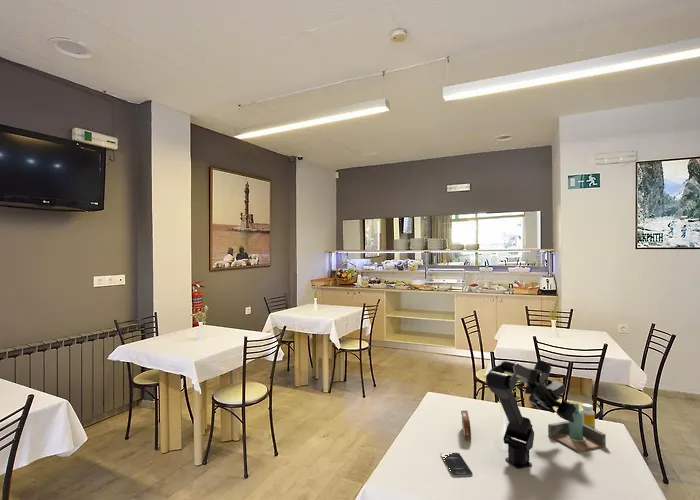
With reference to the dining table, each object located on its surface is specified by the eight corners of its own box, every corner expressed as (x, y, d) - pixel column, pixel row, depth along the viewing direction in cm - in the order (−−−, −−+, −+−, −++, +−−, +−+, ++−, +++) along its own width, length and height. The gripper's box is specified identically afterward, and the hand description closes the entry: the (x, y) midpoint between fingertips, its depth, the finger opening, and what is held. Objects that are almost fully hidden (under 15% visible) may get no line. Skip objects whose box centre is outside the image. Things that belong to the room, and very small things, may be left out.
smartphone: (459, 452, 147) (473, 474, 132) (459, 454, 147) (473, 477, 132) (439, 453, 146) (452, 475, 131) (439, 455, 146) (452, 477, 131)
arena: (577, 452, 146) (577, 439, 146) (548, 436, 160) (548, 424, 160) (605, 446, 151) (605, 434, 151) (575, 431, 164) (574, 419, 164)
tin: (471, 443, 154) (471, 422, 154) (463, 442, 155) (463, 421, 155) (468, 426, 169) (468, 407, 169) (460, 426, 170) (460, 406, 170)
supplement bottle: (577, 425, 169) (577, 403, 169) (586, 424, 171) (586, 402, 171) (588, 431, 164) (588, 408, 164) (598, 429, 165) (597, 406, 166)
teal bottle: (576, 441, 153) (575, 406, 153) (565, 435, 158) (565, 402, 158) (586, 439, 155) (585, 405, 155) (575, 433, 159) (574, 400, 160)
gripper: (571, 383, 144) (595, 409, 147) (534, 369, 162) (555, 392, 165) (555, 406, 142) (579, 433, 145) (519, 390, 160) (541, 413, 163)
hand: (563, 416), depth 155 cm, fingers open, 9 cm apart
